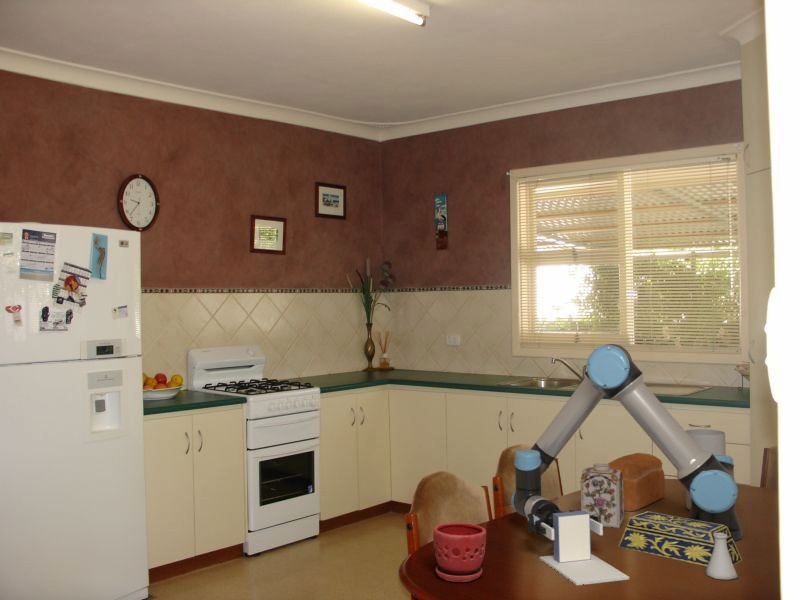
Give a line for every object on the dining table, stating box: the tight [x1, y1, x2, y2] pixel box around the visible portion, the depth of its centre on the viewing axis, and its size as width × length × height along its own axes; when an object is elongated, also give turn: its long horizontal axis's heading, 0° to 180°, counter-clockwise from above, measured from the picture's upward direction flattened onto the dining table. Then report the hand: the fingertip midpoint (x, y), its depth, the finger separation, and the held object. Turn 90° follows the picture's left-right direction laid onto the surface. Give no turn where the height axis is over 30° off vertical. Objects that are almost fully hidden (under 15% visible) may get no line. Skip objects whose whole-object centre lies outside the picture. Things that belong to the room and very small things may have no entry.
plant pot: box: [432, 522, 487, 583], centre depth 194 cm, size 13×13×12 cm
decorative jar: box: [580, 462, 625, 529], centre depth 240 cm, size 12×12×18 cm
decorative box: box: [618, 510, 743, 567], centre depth 208 cm, size 11×30×9 cm, turn 44°
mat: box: [539, 553, 630, 586], centre depth 197 cm, size 21×14×1 cm, turn 14°
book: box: [552, 510, 592, 563], centre depth 203 cm, size 3×9×12 cm, turn 104°
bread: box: [607, 452, 666, 512], centre depth 264 cm, size 14×26×16 cm, turn 139°
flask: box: [705, 533, 739, 581], centre depth 190 cm, size 7×7×10 cm
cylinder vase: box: [685, 428, 727, 511], centre depth 253 cm, size 12×12×25 cm
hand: (577, 532), depth 199 cm, fingers open, 13 cm apart
